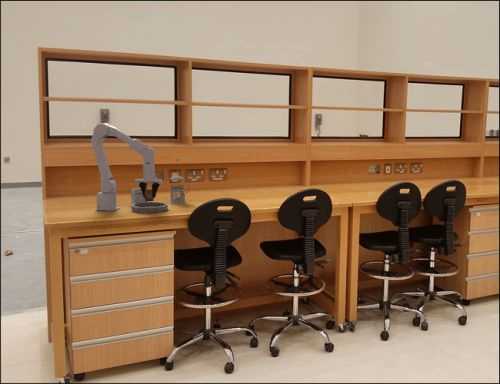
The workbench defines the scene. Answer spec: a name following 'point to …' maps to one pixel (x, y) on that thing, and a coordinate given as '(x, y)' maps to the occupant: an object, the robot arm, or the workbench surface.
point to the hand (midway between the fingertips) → (149, 197)
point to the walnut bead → (149, 195)
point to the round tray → (149, 207)
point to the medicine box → (137, 196)
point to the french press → (177, 188)
